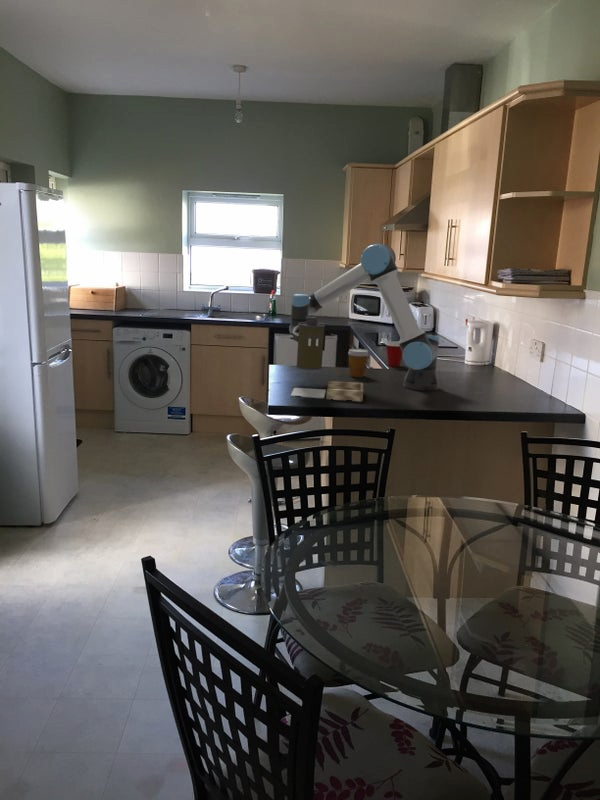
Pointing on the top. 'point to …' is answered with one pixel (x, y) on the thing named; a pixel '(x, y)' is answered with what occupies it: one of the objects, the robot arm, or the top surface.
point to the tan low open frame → (345, 391)
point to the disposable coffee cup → (357, 362)
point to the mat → (308, 392)
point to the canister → (311, 354)
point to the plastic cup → (393, 353)
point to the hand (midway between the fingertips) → (313, 342)
